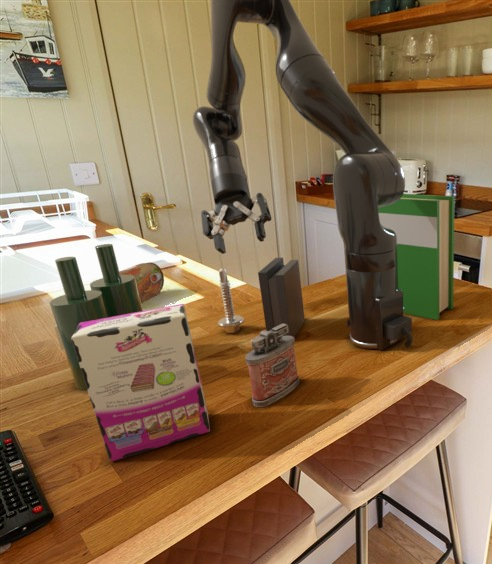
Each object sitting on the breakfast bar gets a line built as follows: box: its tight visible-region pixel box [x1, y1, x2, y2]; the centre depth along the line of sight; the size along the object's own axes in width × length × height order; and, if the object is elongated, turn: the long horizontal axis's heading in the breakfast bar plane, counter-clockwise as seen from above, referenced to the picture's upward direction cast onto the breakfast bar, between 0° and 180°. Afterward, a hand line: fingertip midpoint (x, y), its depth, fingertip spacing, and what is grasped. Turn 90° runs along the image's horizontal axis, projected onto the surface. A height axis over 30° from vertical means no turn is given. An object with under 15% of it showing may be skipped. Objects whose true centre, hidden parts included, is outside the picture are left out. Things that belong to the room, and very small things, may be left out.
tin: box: [119, 262, 165, 303], centre depth 101 cm, size 15×3×8 cm, turn 168°
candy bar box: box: [71, 303, 211, 462], centre depth 51 cm, size 11×5×16 cm, turn 117°
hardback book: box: [378, 193, 455, 321], centre depth 90 cm, size 18×7×24 cm, turn 58°
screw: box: [217, 267, 245, 334], centre depth 82 cm, size 13×5×5 cm
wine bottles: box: [49, 243, 144, 391], centre depth 68 cm, size 14×7×20 cm, turn 178°
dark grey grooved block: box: [257, 257, 306, 338], centre depth 81 cm, size 4×10×14 cm, turn 178°
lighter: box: [244, 324, 301, 408], centre depth 61 cm, size 8×3×10 cm, turn 148°
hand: (241, 246), depth 89 cm, fingers open, 8 cm apart
